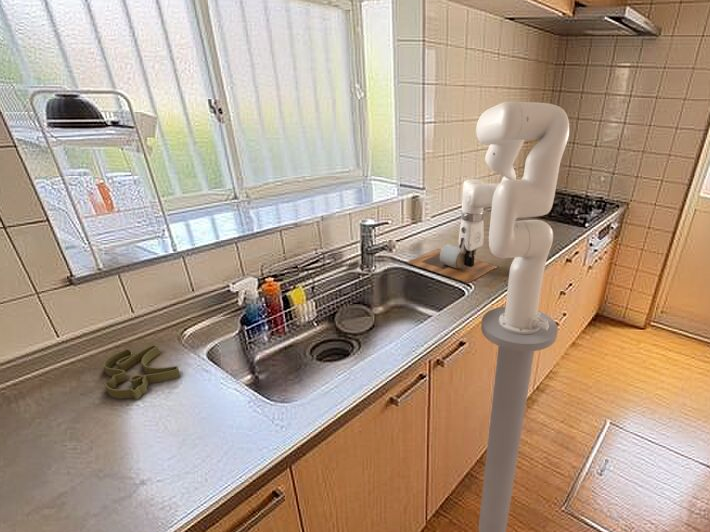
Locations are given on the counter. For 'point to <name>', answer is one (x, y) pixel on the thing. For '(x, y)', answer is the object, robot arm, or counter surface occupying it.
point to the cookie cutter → (138, 381)
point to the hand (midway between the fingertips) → (468, 265)
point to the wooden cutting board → (463, 274)
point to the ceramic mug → (452, 256)
